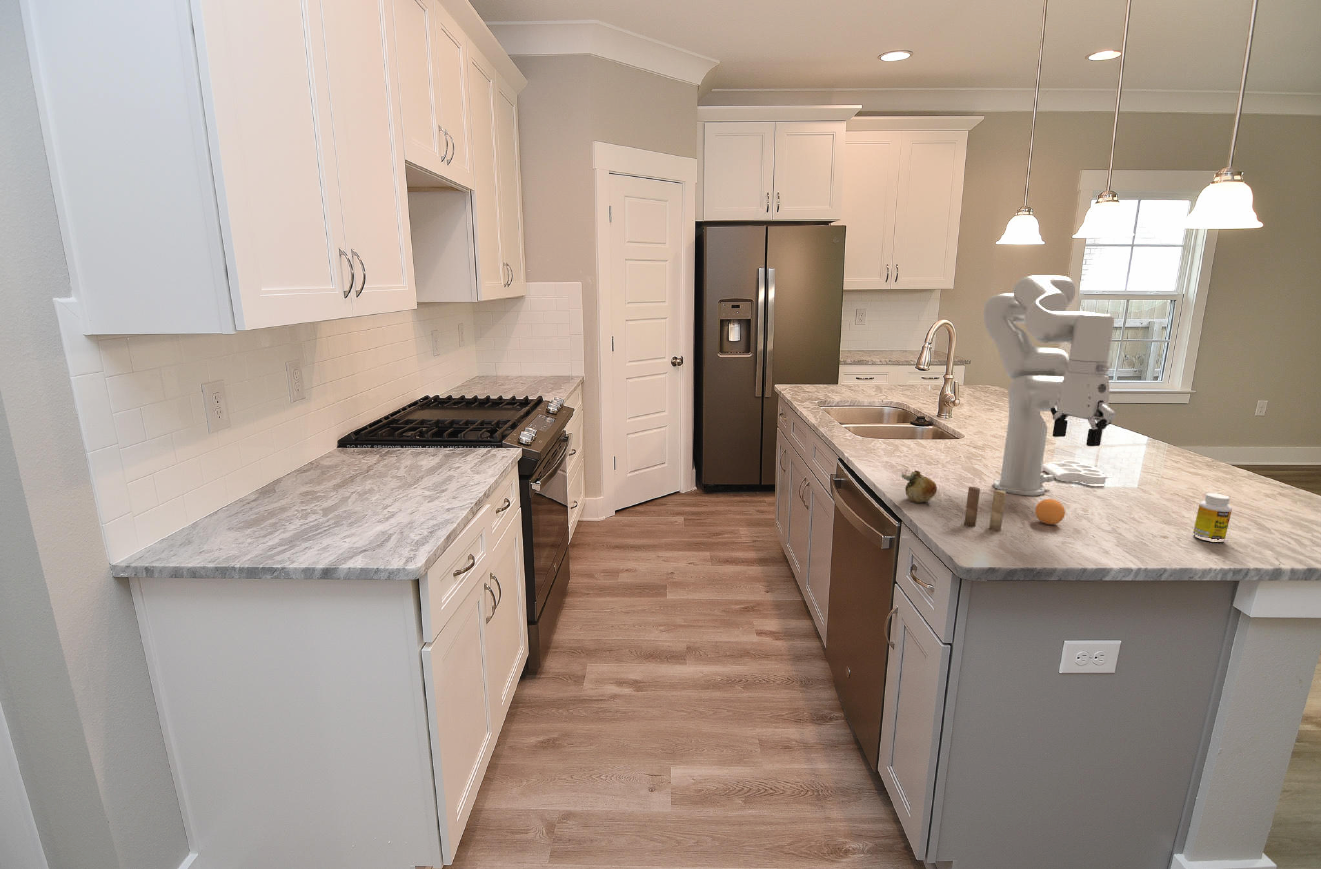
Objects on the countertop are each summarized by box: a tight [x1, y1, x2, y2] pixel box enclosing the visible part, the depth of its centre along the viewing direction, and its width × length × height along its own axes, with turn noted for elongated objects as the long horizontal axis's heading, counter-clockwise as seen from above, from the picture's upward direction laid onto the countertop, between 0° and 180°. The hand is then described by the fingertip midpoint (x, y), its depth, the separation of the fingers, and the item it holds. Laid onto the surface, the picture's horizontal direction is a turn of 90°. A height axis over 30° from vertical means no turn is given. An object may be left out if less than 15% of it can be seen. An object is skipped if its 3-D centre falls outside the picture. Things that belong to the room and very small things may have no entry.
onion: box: [901, 469, 938, 504], centre depth 167 cm, size 8×8×8 cm
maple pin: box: [988, 489, 1007, 532], centre depth 148 cm, size 2×2×9 cm
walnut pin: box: [963, 486, 981, 528], centre depth 150 cm, size 2×2×9 cm
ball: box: [1034, 498, 1066, 525], centre depth 152 cm, size 6×6×6 cm
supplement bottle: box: [1192, 492, 1233, 540], centre depth 144 cm, size 6×6×10 cm
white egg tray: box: [1042, 459, 1109, 485], centre depth 191 cm, size 3×18×15 cm
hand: (1075, 441), depth 152 cm, fingers open, 9 cm apart
